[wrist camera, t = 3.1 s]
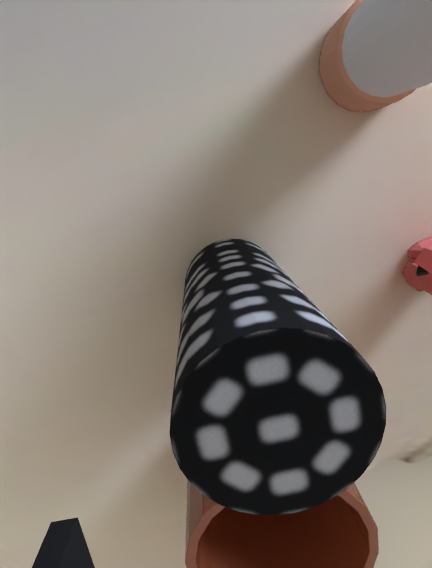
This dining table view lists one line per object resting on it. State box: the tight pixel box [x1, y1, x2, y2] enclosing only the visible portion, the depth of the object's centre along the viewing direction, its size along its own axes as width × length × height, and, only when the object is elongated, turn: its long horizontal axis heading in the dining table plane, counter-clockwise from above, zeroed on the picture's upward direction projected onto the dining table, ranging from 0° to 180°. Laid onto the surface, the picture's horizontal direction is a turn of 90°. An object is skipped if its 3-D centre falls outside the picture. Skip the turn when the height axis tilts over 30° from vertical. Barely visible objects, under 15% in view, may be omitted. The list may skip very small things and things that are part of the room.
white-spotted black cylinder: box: [170, 239, 386, 515], centre depth 24 cm, size 8×8×20 cm
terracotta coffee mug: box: [185, 480, 379, 568], centre depth 33 cm, size 19×14×12 cm
